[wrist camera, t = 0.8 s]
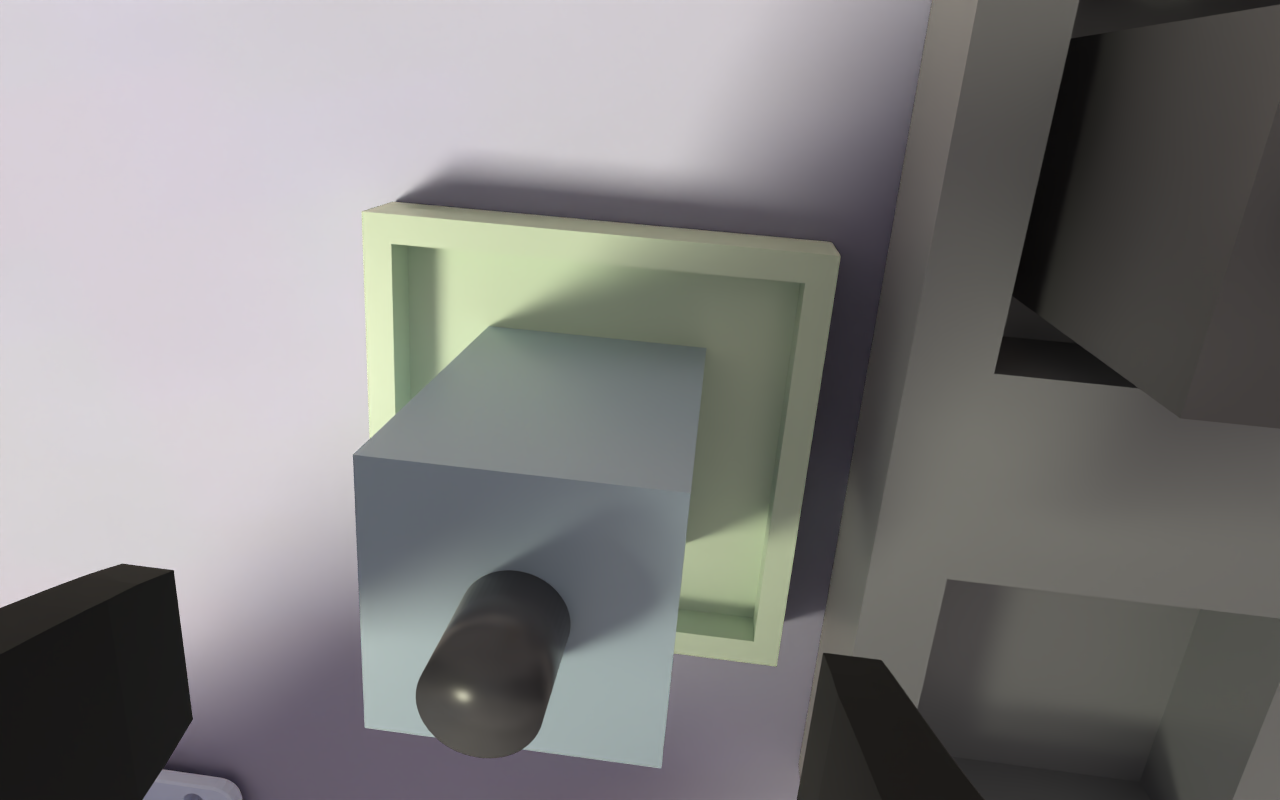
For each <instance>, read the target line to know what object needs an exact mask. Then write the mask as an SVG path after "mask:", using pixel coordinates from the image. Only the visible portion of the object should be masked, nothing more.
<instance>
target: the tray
mask: <svg viewBox="0 0 1280 800" xmlns="http://www.w3.org/2000/svg"><path fill="white" fill-rule="evenodd" d="M362 235H363V263H364V292H365V320H366V349H367V377H368V406H369V434H370V438H371V437H372V436H373V435H374V434H375V433H377V432H378V431H379V430H380V429H381V428H382V427H383V426H384V425H385V424H386V423H387V422H388V421H389V420H390V419H391V418H392V417H393V416H394V415H395V414H397V413H398V412H399V411H400V410H401V409H402V408H403V407H404V406H405V405H406V404H407V403H408V402H409V401H410V400H411V399H412V398H413V397H414V396H416V395H417V394H418V393H419V392H420V391H421V390H422V389H423V388H424V387H425V386H426V385H427V384H428V383H429V382H430V381H431V380H432V379H433V378H435V377H436V376H437V375H438V374H439V373H440V372H441V371H442V370H443V369H444V368H445V367H446V366H447V365H448V364H449V363H450V362H451V361H452V360H454V359H455V358H456V357H457V356H458V355H459V354H460V353H461V352H462V351H463V350H464V349H465V348H466V347H467V346H468V345H469V344H470V343H471V342H473V341H474V340H475V339H476V338H477V337H478V336H479V335H480V334H481V333H482V332H483V331H484V330H485V329H486V328H487V327H488V326H494V327H504V328H514V329H524V330H534V331H543V332H553V333H563V334H573V335H583V336H593V337H602V338H612V339H622V340H632V341H642V342H652V343H661V344H671V345H681V346H691V347H701V348H706V357H705V366H704V375H703V385H702V394H701V404H700V413H699V422H698V432H697V441H696V451H695V460H694V470H693V479H692V488H691V498H690V507H689V517H688V526H687V535H686V545H685V554H684V563H683V573H682V582H681V591H680V600H679V610H678V619H677V628H676V638H675V647H674V654H681V655H689V656H697V657H705V658H713V659H721V660H728V661H736V662H744V663H752V664H760V665H768V666H776V667H777V661H778V655H779V648H780V642H781V636H782V629H783V623H784V616H785V610H786V604H787V597H788V591H789V584H790V578H791V572H792V565H793V559H794V552H795V546H796V540H797V533H798V527H799V520H800V514H801V508H802V501H803V495H804V488H805V482H806V475H807V469H808V463H809V456H810V450H811V443H812V437H813V431H814V424H815V418H816V411H817V405H818V399H819V392H820V386H821V379H822V373H823V367H824V360H825V354H826V347H827V341H828V335H829V328H830V322H831V315H832V309H833V303H834V296H835V290H836V283H837V277H838V271H839V264H840V258H841V256H840V254H839V253H838V251H837V249H836V248H835V246H834V245H833V243H832V242H826V241H816V240H805V239H794V238H783V237H772V236H761V235H750V234H739V233H729V232H718V231H707V230H696V229H685V228H674V227H663V226H652V225H641V224H631V223H620V222H609V221H598V220H587V219H576V218H565V217H554V216H544V215H533V214H522V213H511V212H500V211H489V210H478V209H467V208H457V207H446V206H435V205H424V204H413V203H402V202H390V203H387V204H384V205H380V206H377V207H374V208H371V209H368V210H365V211H362Z"/></svg>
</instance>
